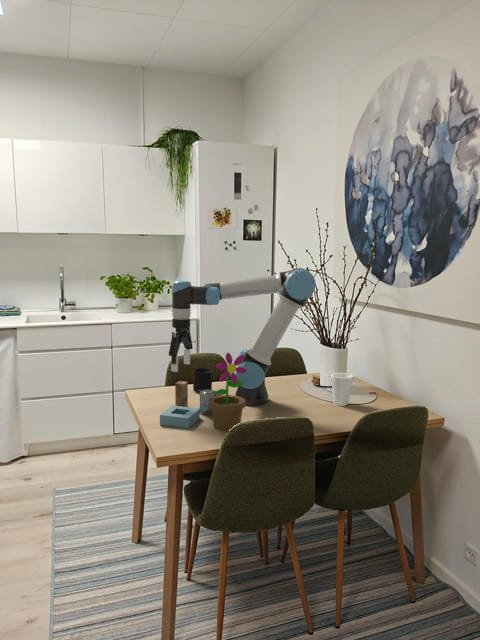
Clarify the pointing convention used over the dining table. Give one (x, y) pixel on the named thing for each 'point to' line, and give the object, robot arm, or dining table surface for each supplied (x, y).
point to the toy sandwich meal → (316, 379)
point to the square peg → (181, 394)
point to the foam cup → (341, 388)
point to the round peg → (206, 401)
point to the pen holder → (202, 379)
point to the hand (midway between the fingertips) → (180, 367)
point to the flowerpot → (228, 397)
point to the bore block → (180, 416)
